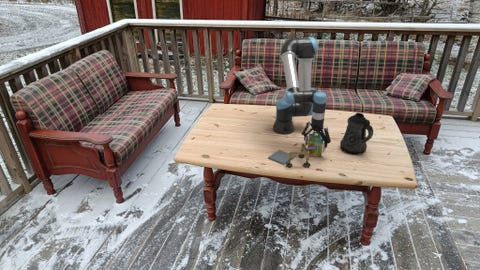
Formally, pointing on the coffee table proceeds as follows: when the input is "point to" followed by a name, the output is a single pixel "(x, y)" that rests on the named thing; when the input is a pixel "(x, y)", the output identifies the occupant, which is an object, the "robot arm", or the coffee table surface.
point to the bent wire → (300, 155)
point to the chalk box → (315, 144)
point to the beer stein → (356, 135)
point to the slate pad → (280, 157)
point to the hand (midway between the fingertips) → (314, 148)
